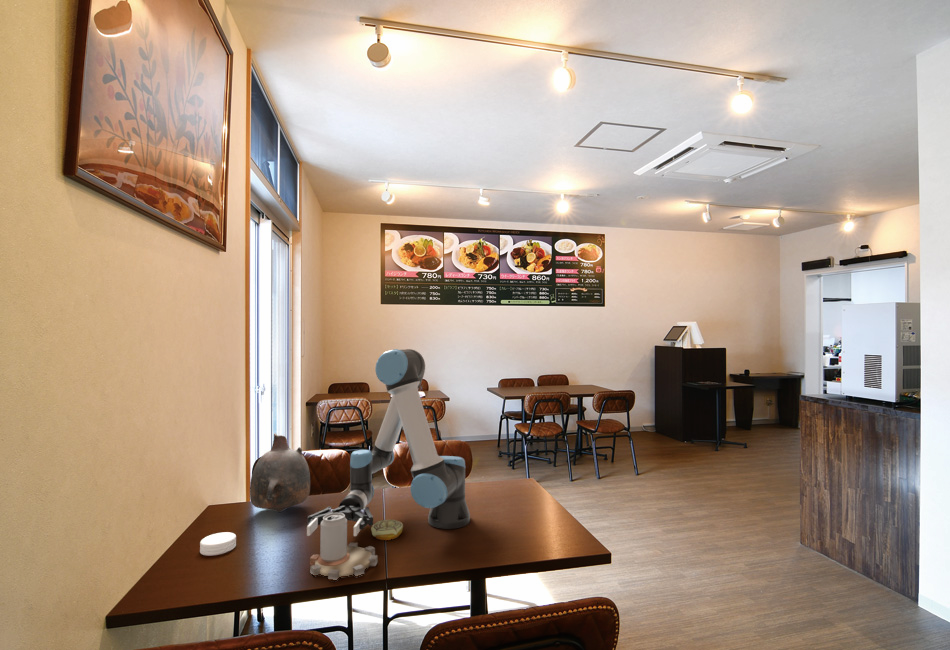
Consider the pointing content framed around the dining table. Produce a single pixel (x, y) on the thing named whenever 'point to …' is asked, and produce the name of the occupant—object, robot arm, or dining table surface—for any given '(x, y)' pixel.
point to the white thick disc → (217, 543)
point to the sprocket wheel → (345, 562)
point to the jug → (280, 477)
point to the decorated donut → (387, 529)
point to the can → (333, 537)
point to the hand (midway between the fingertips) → (331, 531)
